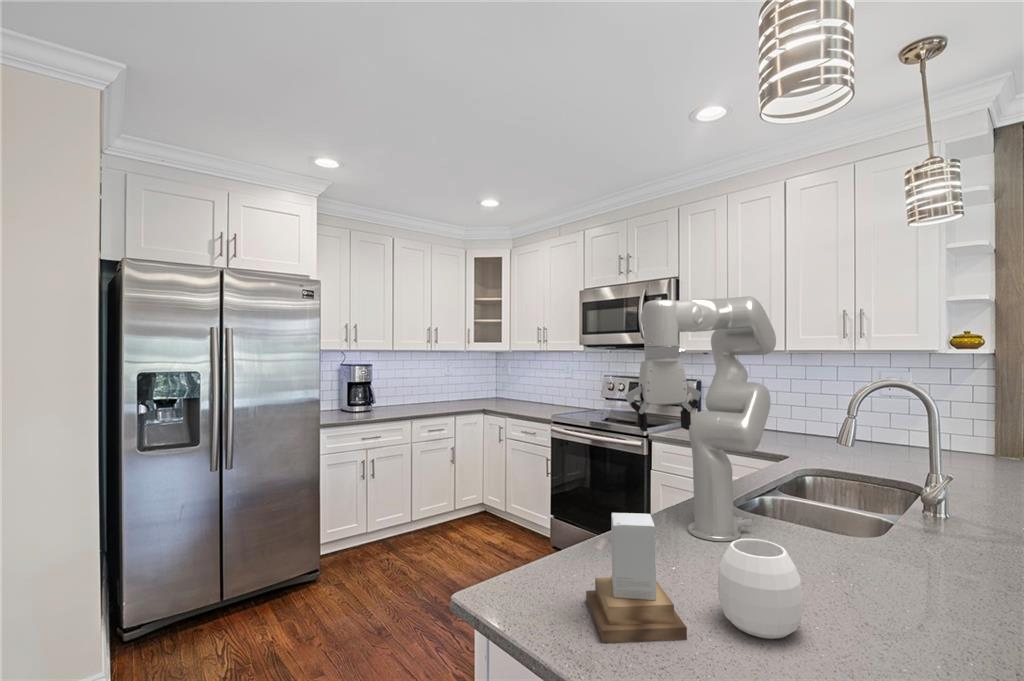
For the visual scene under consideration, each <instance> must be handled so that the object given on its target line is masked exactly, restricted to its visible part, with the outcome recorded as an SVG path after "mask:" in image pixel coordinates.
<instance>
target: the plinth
mask: <svg viewBox="0 0 1024 681" xmlns="http://www.w3.org/2000/svg"><path fill="white" fill-rule="evenodd" d="M594 581H595V582H594V584H595V586H594V588H595V589H592V590H591V589H590V590H585V599H586V604H587V606H588V608H589V612H590V614H591V617H592V620H593V622H594V624H595V627H596V630H597V632H598V634H599V637H600V640H601V643H602V644H613V643H614V644H615V643H635V642H636V643H637V642H638V643H639V642H658V641H659V642H661V641H680V640H682V641H684V640H688V633H687V630H688V629H687V626H686V624H685V623H684V621H683V620H682V619H681V617H680V616H679V615H678V613H677V612H676V611H675V604H674V603H673V601H671V599H670V597H669V596H668V594H667V593H666V592H665V590H664V589H663V588H662V586H661V585H660V584H659V583H658V581H657V580H656V600H642V599H628V598H615V597H614V594H613V585H612V576H611V577H609V576H607V577H595V578H594Z"/></svg>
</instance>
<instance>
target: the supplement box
mask: <svg viewBox="0 0 1024 681" xmlns="http://www.w3.org/2000/svg"><path fill="white" fill-rule="evenodd" d="M610 516H611V519H610V520H611V522H610V523H611V524H610V525H611V529H610V530H611V577H612V585H613V594H614V597H615V598H628V599H642V600H656V581H657V575H656V574H657V572H656V571H657V570H656V569H657V567H656V527H655V526H656V525H655V523H654V519H653V518H652V516H651V513H635V512H630V513H629V512H611V515H610Z"/></svg>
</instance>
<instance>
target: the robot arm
mask: <svg viewBox="0 0 1024 681" xmlns="http://www.w3.org/2000/svg"><path fill="white" fill-rule="evenodd" d="M640 322H641V325H642V327H643V344H644V347H643V348H644V360H641V361H640V367H639V376H638V386H637V387H635V388H634V389H632V390H630V391H629V392H627V393H625V394H624V397H625V399H626V401H627V402H628V404H629V406H630V408H632V409H633V410H634V411H635V412H636V414H637V427H638V428H639V429H640V431H642V432H645V433H647V431H648V418H647V417H648V416H647V414H646V411H647V409H648V408H649V407H650V406H660V405H662V406H663V405H665V406H666V405H678V406H679V407H680V408H681V410H680V428H682V429H684V430H686V431H688V437H689V442H690V446H691V455H692V477H693V479H692V481H693V482H692V483H693V512H694V513H693V514H694V516H693V518H694V521H692V522H691V523H690V524H688V527H687V529H688V532H689V533H690V534H691V535H693V536H694V537H695V538H696V537H697V538H700V539H703V540H706V541H707V540H708V541H714V542H733V541H735V540H738V539H740V537H741V530H740V529H741V527H745V528H747V527H748V528H749V527H753V526H754V525H753V524H754V523H753V520H752V519H751V518H743V517H742V516H735V515H734V494H733V493H734V488H733V466H732V462H731V461H730V459H729V457H728V455H727V453H726V452H725V450H726V451H733V452H740V453H751V452H754V451H755V450H756V449H758V448H759V445H760V443H761V439H762V437H763V433H764V431H765V427H766V424H767V420H768V418H769V414H770V411H771V410H770V409H771V395H770V392H769V389H768V388H767V387H766V386H765V385H764V384H762V383H760V382H756V381H755V382H754V381H748V379H749V378H748V377H749V373H748V370H747V369H746V368H745V366H744V365H743V363H741V361H740V360H738V359H737V358H736V356H764V355H769V354H771V353H772V352H773V351H774V350H775V348H776V345H777V336H776V333H775V332H776V331H775V329H774V327H773V324H772V323H771V321H770V319H769V317H768V314H767V313H766V310H765V309H764V307H763V305H762V304H761V302H759V300H757V298H755V297H753V296H738V297H737V296H736V297H727V298H725V297H724V298H693V299H680V300H673V299H654V300H649V301H646V302H645V303H644V304H643V308H642V310H641V313H640ZM710 331H711V332H712V331H713V332H712V334H711V337H710V346H711V351H712V357H713V360H714V364H715V373H714V376H713V378H712V379H711V383H710V385H709V388H708V390H707V393H706V396H705V399H704V400H705V401H704V402H705V403H704V404H705V408H706V409H707V410H702V411H697V412H695V413H693V414H692V413H691V412H693V411H694V410H693V409H694V408H695V407H696V406H697V405H698V403H699V401H700V398H701V396H702V391H701V390H698V389H696V388H694V387H692V386H690V385H689V384H687V378H686V377H687V376H686V371H685V367H684V362H683V360H682V359H680V358H681V356H682V355H685V354H686V350H685V348H681V347H680V344H679V342H680V341H679V333H684V332H685V333H687V332H688V333H696V332H697V333H699V332H700V333H701V332H710ZM688 393H689V394H691V395H692V396H691V399H689V400H688ZM636 396H638V401H639V402H640V403H637V402H636V401H635V399H634V397H636ZM691 414H692V415H691Z"/></svg>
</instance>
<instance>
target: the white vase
mask: <svg viewBox="0 0 1024 681" xmlns="http://www.w3.org/2000/svg"><path fill="white" fill-rule="evenodd" d="M717 575H718V576H717V593H718V594H717V595H718V596H717V597H718V600H719V603H720V605H721V608H722V611H723V613H724V615H725V616H724V617H726V619H728V621H730V623H731V624H732V625H733V626H735V627H736V628H737V629H738V630H740V631H741V632H744V633H746V634H748V635H751V636H755V637H757V638H762V639H771V640H774V639H776V640H777V639H781V638H782V639H783V638H785V637H786V636H789V635H790V634H792V633H793V632H796V631H797V630H798V628H799V625H800V623H801V621H802V617H803V613H804V594H803V585H802V579H801V577H800V575H799V572H798V569H797V567H796V564H795V563H794V562H793V560H792V558H791V556H790V555H789V553H788V552H787V550H786V549H785V548H784V547H783V546H781V545H779V544H777V543H774V542H771V541H769V540H764V539H760V538H759V539H758V538H738V539H736V540H733V541H731V543H730V544H729V546H728V547H727V549H726V551H725V552H724V554H723V556H722V558H721V561H720V564H719V566H718V574H717Z"/></svg>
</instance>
